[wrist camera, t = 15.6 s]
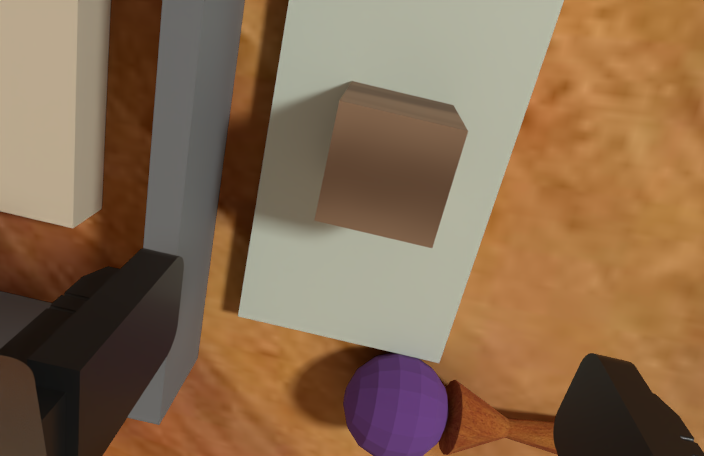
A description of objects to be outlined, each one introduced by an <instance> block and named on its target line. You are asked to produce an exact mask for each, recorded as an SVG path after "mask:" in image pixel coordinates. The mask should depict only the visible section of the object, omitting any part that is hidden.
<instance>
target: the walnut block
mask: <svg viewBox="0 0 704 456" xmlns="http://www.w3.org/2000/svg"><path fill="white" fill-rule="evenodd" d="M467 134H468V130H467V128H466V126H465V125H464V123H463V121H462V119H461V118H460V116H459V114H458V112H457V111H456V109H455V107H454V105H451V104H447V103H443V102H438V101H434V100H430V99H426V98H422V97H417V96H413V95H409V94H405V93H401V92H396V91H392V90H388V89H384V88H380V87H375V86H371V85H367V84H363V83H359V82H354V81H352V82H351V83H350V85H349V86H348V88H347V89H346V91H345V93H344V94H343V96H342V97H341V99H340V100H339V105H338V109H337V114H336V119H335V124H334V128H333V133H332V138H331V143H330V148H329V152H328V157H327V162H326V167H325V171H324V176H323V181H322V186H321V191H320V195H319V200H318V205H317V210H316V215H315V219H314V221H318V222H322V223H327V224H331V225H335V226H339V227H344V228H348V229H352V230H356V231H361V232H365V233H369V234H373V235H378V236H382V237H386V238H390V239H395V240H399V241H403V242H407V243H412V244H416V245H420V246H424V247H429V248H433V244H434V241H435V238H436V235H437V231H438V228H439V225H440V222H441V218H442V215H443V212H444V209H445V205H446V202H447V199H448V196H449V192H450V189H451V186H452V182H453V179H454V176H455V173H456V169H457V166H458V163H459V160H460V156H461V153H462V150H463V147H464V143H465V140H466V137H467Z"/></svg>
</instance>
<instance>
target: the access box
mask: <svg viewBox="0 0 704 456" xmlns="http://www.w3.org/2000/svg"><path fill="white" fill-rule="evenodd" d="M244 3H245V0H163V1H162V13H161V26H160V39H159V52H158V65H157V78H156V91H155V104H154V117H153V129H152V142H151V155H150V168H149V181H148V194H147V207H146V220H145V233H144V245H143V248H146V249H150V250H154V251H159V252H163V253H167V254H172V255H176V256H180V257H182V258H183V261H184V271H183V281H182V290H181V300H180V309H179V318H178V326H177V331H176V335H175V339H174V342H173V344H172V347H171V349H170V352H169V353H168V355H167V357H166V359H165V360H164V362H163V363H162V365H161V366H160V368H159V369H158V371H157V372H156V374H155V375H154V377H153V379H152V380H151V382H150V383H149V385H148V386H147V388H146V389H145V391H144V392H143V394H142V395H141V397H140V399H139V400H138V402H137V403H136V405H135V406H134V408H133V409H132V411H131V412H130V414H129V415H128V417H127V418H132V419H136V420H140V421H145V422H149V423H153V424H158V425H159V424H160V423H161V421H162V419H163V417H164V416H165V414H166V412H167V411H168V409H169V407H170V405H171V404H172V402H173V400H174V398H175V397H176V395H177V393H178V391H179V390H180V388H181V386H182V384H183V383H184V381H185V379H186V377H187V376H188V374H189V372H190V370H191V369H192V367H193V365H194V364H195V362H196V360H197V358H198V351H199V343H200V336H201V328H202V320H203V313H204V305H205V298H206V290H207V283H208V275H209V267H210V260H211V252H212V245H213V237H214V230H215V222H216V215H217V207H218V199H219V192H220V184H221V177H222V169H223V162H224V154H225V146H226V139H227V131H228V124H229V116H230V109H231V101H232V93H233V86H234V78H235V71H236V63H237V56H238V48H239V41H240V33H241V25H242V18H243V10H244ZM110 10H111V0H0V211H1V212H6V213H10V214H14V215H18V216H23V217H27V218H31V219H35V220H40V221H44V222H48V223H53V224H57V225H61V226H65V227H70V228H74V227H76V226H77V225H79V224H80V223H82V222H83V221H85V220H86V219H87V218H89V217H90V216H92V215H93V214H95V213H96V212H98V211H99V210H101V209H102V194H103V171H104V148H105V125H106V102H107V79H108V56H109V33H110ZM51 304H52V303H49V302H45V301H40V300H36V299H32V298H28V297H23V296H19V295H15V294H10V293H6V292H2V291H0V349H1V348H2V347H3V346H4V345H5V344H6V343H7V342H9V341H10V340H11V339H12V338H13V337H14V336H15V335H17V334H18V333H19V332H20V331H21V330H22V329H23V328H25V327H26V326H27V325H28V324H29V323H30V322H31V321H33V320H34V319H35V318H36V317H37V316H38V315H39V314H41V313H42V312H43V311H44V310H45V309H46V308H48V309H49V308H50V305H51Z"/></svg>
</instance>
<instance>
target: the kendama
mask: <svg viewBox="0 0 704 456" xmlns="http://www.w3.org/2000/svg"><path fill="white" fill-rule="evenodd" d="M343 405H344V411H345V417H346V423H347V427H348V429H349V431H350V432H351V434H352V436H353V437H354V439H355V440H356V442H357V443H358V445H359V446H360V447H361V448H363V449H364V450H366V451H367V452H369V453H370V454H372V455H373V456H423V455H424V454H425V453H426V452H428V451H429V450H430V449H431V448H432V447H433V446H435V445H436V444H437V443H438V442H439V447H440V449H441V451H442V453H443V454H446V455H449V454H452V453H455V452H459V451H462V450H465V449H469V448H472V447H475V446H479V445H482V444H485V443H489V442H492V441H495V440H499V439H502V438H508V439H511V440H514V441H517V442H520V443H524V444H527V445H530V446H533V447H536V448H539V449H542V450H545V451H548V452H551V453H554V454H557V451H556V448H555V445H554V438H553V429H554V422H547V421H534V420H522V419H509V418H506V417H505V416H503V415H502V414H501V413H499V412H498V411H497V410H495V409H494V408H493V407H491V406H490V405H489V404H487V403H486V402H485V401H483V400H482V399H481V398H479V397H478V396H477V395H475V394H474V393H472V392H471V391H470V390H468V389H467V388H466V387H464V386H463V385H462V384H460V383H459V382H458V381H456V380H453V381H450V383H449V384H448V386H447V387H446V389H445V387H444V385H443V384H442V382H441V381H440V379H439V377H438V376H437V374H436V373H435V371H434V370H433V369H432V368H431V367H430V366H428V365H427V364H425V363H424V362H423V361H421V360H420V359H418V358H415V357H410V356H406V355H402V354H398V353H389V354H384V355H379V356H375V357H374V358H373V359H371V360H370V361H368V362H367V363H365V364H364V365H362V366H361V367H360V368H358V369H357V370H356V372H355V374H354V375H353V377H352V379H351V380H350V382H349V384H348V385H347V387H346V391H345V395H344V402H343Z"/></svg>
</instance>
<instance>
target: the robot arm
mask: <svg viewBox="0 0 704 456" xmlns="http://www.w3.org/2000/svg"><path fill="white" fill-rule="evenodd" d="M183 271H184V261H183V258H182V257H180V256H176V255H172V254H167V253H163V252H159V251H154V250H150V249H146V248H143V249H141V250H139V251H138V252H137V253H136V254H135V255H134V256H133V257H132V258H131V259H130V260H129V261H128V262H127V263H126V264H125V265H124V266H123V267H122V268H121V269H118V268H113V267H109V266H108V267H105V268H103V269H100V270H98V271H95V272H93V273H91V274H88V275H86V276H83V277H82V278H81V279H79V280H78V281H77V282H76V283H75V284H74V285H73V286H71V287H70V288H69V289H68V290H67V291H66V292H65V295H61V296H60V297H59V298H58V299H57V300H55V301H54V302H53V303H52V304H51V305H50V308H49V309H48V308H46V309H45V310H44V311H43V312H42V313H41V314H39V315H38V316H37V317H36V318H35V319H34V320H33V321H31V322H30V323H29V324H28V325H27V326H26V327H25V328H23V329H22V330H21V331H20V332H19V333H18V334H17V335H15V336H14V337H13V338H12V339H11V340H10V341H9V342H7V343H6V344H5V345H4V346H3V347H2V348H1V349H0V456H102V455H103V454H104V452H105V451H106V449H107V448H108V446H109V445H110V443H111V442H112V440H113V438H114V437H115V435H116V434H117V432H118V431H119V429H120V428H121V426H122V425H123V423H124V422H125V420H126V418H127V417H128V415H129V414H130V412H131V411H132V409H133V408H134V406H135V405H136V403H137V402H138V400H139V399H140V397H141V395H142V394H143V392H144V391H145V389H146V388H147V386H148V385H149V383H150V382H151V380H152V379H153V377H154V375H155V374H156V372H157V371H158V369H159V368H160V366H161V365H162V363H163V362H164V360H165V359H166V357H167V355H168V353H169V352H170V349H171V347H172V344H173V342H174V339H175V335H176V331H177V326H178V318H179V309H180V300H181V290H182V281H183ZM553 438H554V445H555V448H556V451H557V454H558V456H704V453H703V451H702V450H701V448H700V447H699V445H698V444H697V443H694V438H693V436H692V435H691V433H690V432H689V430H688V429H687V427H686V426H685V424H684V423H683V421H682V420H681V418H680V417H679V416H678V415H677V414H676V413H675V412H674V411H673V410H672V409H671V408H670V407H669V406H668V405H666V404H665V403H664V402H663V401H662V400H661V399H660V398H659V397H658V396H657V395H656V394H653V393H652V392H651V390H650V389H649V387H648V385H647V384H646V382H645V381H644V379H643V378H642V376H641V375H640V373H639V371H638V370H637V368H636V367H635V366H634V364H632V363H631V362H628V361H624V360H619V359H615V358H611V357H607V356H602V355H598V354H594V353H590V354H588V355H586V356H585V357H584V359H583V360H582V362H581V363H580V366H579V368H578V370H577V372H576V374H575V376H574V378H573V380H572V382H571V384H570V387H569V389H568V391H567V393H566V395H565V397H564V399H563V401H562V403H561V405H560V408H559V410H558V412H557V414H556V417H555V422H554V429H553Z"/></svg>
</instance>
